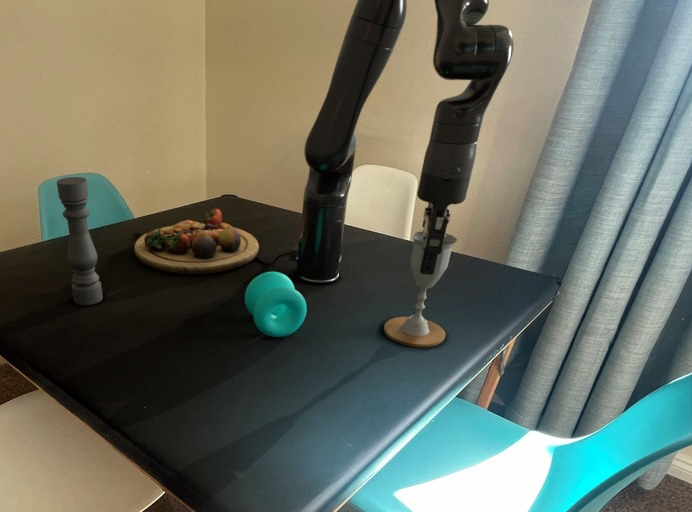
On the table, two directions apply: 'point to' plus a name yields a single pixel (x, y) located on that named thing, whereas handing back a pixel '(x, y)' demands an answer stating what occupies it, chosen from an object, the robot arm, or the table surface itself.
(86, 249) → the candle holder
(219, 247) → the wooden plate
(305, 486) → the table surface
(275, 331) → the turquoise spool
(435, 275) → the chalice
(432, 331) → the coaster
